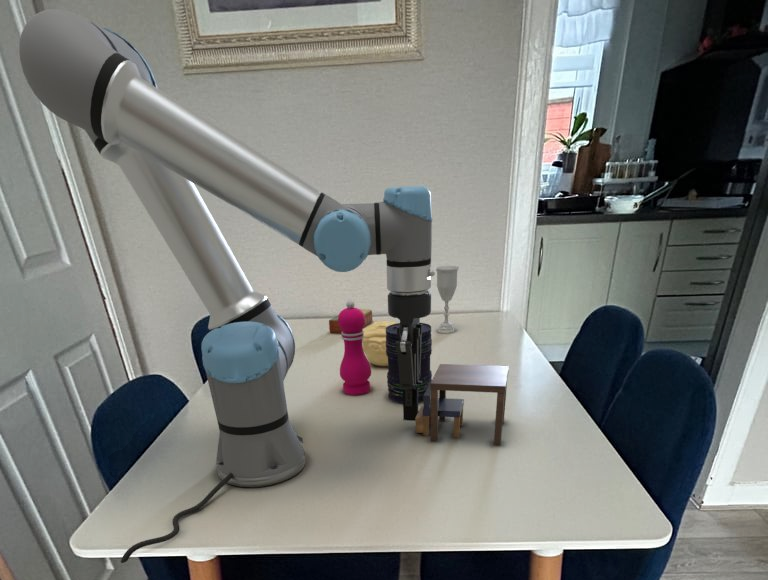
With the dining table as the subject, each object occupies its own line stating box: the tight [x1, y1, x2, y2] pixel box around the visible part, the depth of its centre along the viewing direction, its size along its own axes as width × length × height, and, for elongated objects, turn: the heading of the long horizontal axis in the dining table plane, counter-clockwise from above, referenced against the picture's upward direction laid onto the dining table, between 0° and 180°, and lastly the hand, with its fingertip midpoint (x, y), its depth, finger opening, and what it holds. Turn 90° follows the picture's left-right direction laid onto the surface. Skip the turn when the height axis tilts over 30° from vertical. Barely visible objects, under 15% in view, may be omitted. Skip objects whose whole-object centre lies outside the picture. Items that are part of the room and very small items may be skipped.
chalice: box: [435, 265, 460, 334], centre depth 161 cm, size 7×7×18 cm
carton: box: [328, 308, 373, 335], centre depth 174 cm, size 8×16×4 cm, turn 158°
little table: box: [430, 363, 510, 447], centre depth 101 cm, size 11×13×11 cm
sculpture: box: [362, 320, 397, 367], centre depth 139 cm, size 12×12×11 cm
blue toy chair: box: [414, 384, 465, 438], centre depth 103 cm, size 8×6×8 cm
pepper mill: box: [337, 299, 372, 396], centre depth 120 cm, size 7×7×20 cm
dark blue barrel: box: [386, 322, 433, 405], centre depth 117 cm, size 10×10×15 cm
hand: (410, 419), depth 105 cm, fingers closed
